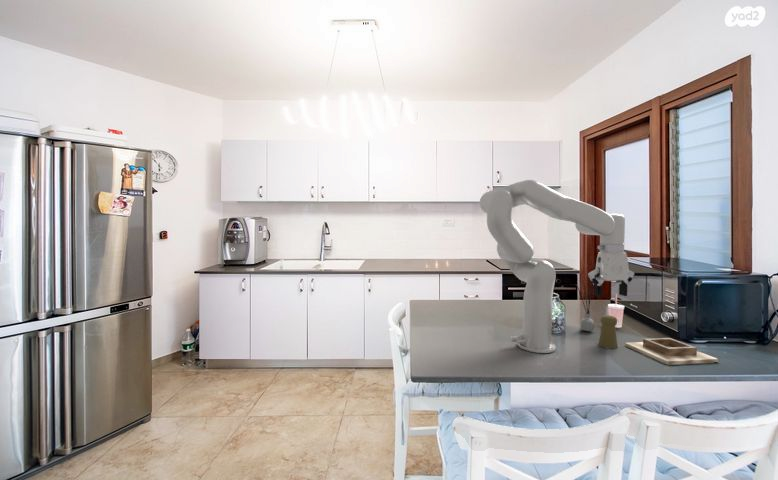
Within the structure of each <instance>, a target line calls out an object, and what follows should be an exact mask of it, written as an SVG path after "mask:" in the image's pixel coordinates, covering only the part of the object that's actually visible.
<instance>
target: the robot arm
mask: <svg viewBox="0 0 778 480" xmlns="http://www.w3.org/2000/svg"><path fill="white" fill-rule="evenodd" d="M522 205H526V206H528V207H530V208H532V209H535V210H536V211H538V212H540V213H543V214H545V215H547V216H548V217H550V218H553V219H556V220H560V221H566V222H571V223H575V225H574V227H575V228H576V230H577V231H578V232H579V233H580V234H582V235H588V236H599V245H597V249H598V250H599V252H597V253H598V254H597V257H596V263H595V269H594V270H591V271H590V272H588V273H587V276H588V278H589V280H590V282H591V283H592V284H593V286H594V289H593V290H594V291H593V292H594V293H593V294H594V296H595V297H599V298H601V297H603V283H604V282H615V281H616V282H618V281H619V282H620V283H619V285H618V293H619V296H623V297H627V296H628V286H629V285H630V282H631V281H632V280H633V278H634V276H635V272H634V271H632V270H630V267H629V259H628V255H627V252H625V237H626V236H625V231H626V230H625V229H626V217H625V216H624V215H623V214H620V213H619V214H618V213H612V214H611V213H610V214H609V213H608V212H606V211H604V210H603V209H601V208H599V207H596V206H594V205H592V204H589V203H588V202H587V203H586V202H583V201H580V200H577V199H575V198H571V197H569V196H566V195H563V193H560V192H558V191H556V190H554V189H552V188H550V187H548V186H547V185H545V184H543V183H540V182H539V181H538V180H537V181H536V180H533V179H526V180H523V181H518V182H514V183H512V184H509V185H505V186H503V187H499V188H495V189H492V190H490V191H486V192H484V193H483V194H482V195H481V197H480V200H479V207H480V209H481V210H482V212H483V213H485V214H486V224H487V229H488V231H489V233H490V234H491V236H492V237H493V239H494V240H495V241H496V243H497V245H496V251H497V255H498V256H499V258H500V259H501V260H502V262H503V263H504V265H506V267H507V268H508V269H509V270H510V271H511V272H512V274H513V275H514V276H515V277H516V278H518V280H520V281H522V282H524V283H526V285H525V288H524V292H523V298H522V299H523V303H522V304H523V306H522V307H523V308H522V311H523V312H522V314H523V316H522V318H523V319H522V332H519V335H517V336H515V335H512V336H509V342H511V343H514V342H515V343H516V344H517V346H518V347H519V348H520V349H522V350H525V351H527V352H531V353H536V354H537V353H538V354H548V353H549V354H550V353H554V352H555V351H556V349H557V348H556V347H557V346H556V345H555V344H554V343H553V342H552V328H553V327H552V322H553V321H552V320H553V298H554V297H553V296H554V295H553V294H554V287H555V283H556V278H557V275H556V269H555V267H554V266H553V265H552V263H550V262H549V261H547V260H545V259H541V258H538V257H534V253H535V251H534V247H533V245H532V243H531V242H530V241H529V240H528V239H527V237H526V236H525V235H524V234H523V232H522V231H521V230H520V229H519V228H518V227H517V225H516V223H514V221H513V218H512V210H513V208H515V207H518V206H522Z"/></svg>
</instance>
